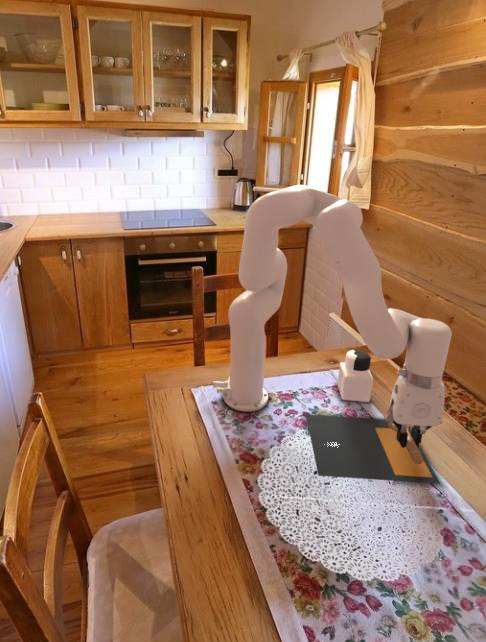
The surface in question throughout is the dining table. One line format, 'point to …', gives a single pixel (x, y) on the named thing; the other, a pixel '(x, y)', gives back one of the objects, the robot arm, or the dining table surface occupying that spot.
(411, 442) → the wooden rod with disc
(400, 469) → the mat
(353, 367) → the container
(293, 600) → the dining table surface
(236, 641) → the dining table surface
